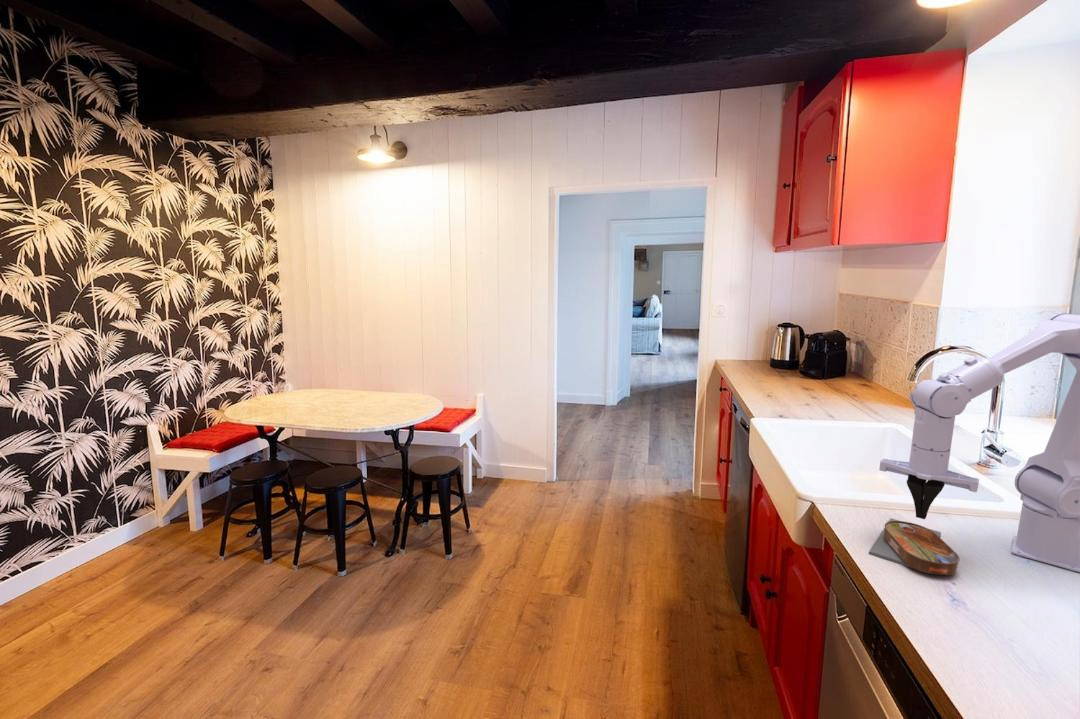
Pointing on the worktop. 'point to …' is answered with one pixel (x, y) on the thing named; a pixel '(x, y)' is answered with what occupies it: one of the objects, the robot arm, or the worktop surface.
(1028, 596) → the worktop surface
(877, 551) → the mat
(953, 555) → the tin
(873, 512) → the worktop surface
